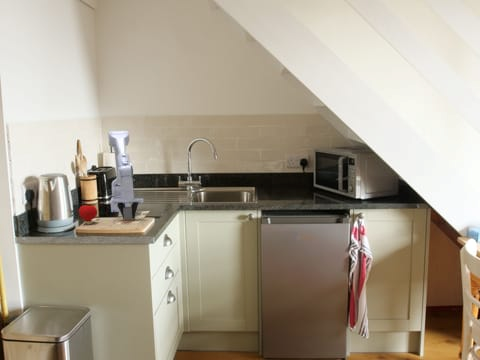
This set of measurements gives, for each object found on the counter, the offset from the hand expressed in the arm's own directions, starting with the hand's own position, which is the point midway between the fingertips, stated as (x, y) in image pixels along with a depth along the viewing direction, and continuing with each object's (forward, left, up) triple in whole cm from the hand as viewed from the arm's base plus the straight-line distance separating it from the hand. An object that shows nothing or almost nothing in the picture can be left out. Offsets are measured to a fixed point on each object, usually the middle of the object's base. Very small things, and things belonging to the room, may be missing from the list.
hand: (129, 218), depth 211 cm
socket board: (0, +6, -2) cm, 6 cm away
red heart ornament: (-18, -4, -3) cm, 19 cm away
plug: (0, 0, -2) cm, 2 cm away
